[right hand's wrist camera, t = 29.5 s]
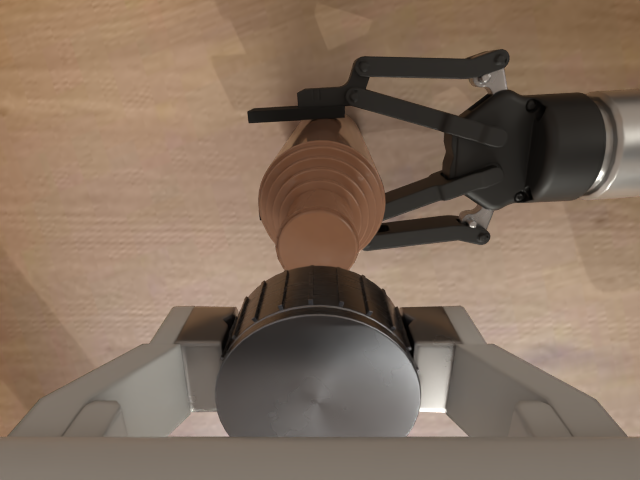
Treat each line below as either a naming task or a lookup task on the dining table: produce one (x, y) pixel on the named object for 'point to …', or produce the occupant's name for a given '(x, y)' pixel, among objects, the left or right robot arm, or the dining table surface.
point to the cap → (318, 360)
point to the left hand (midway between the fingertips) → (257, 164)
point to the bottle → (322, 195)
